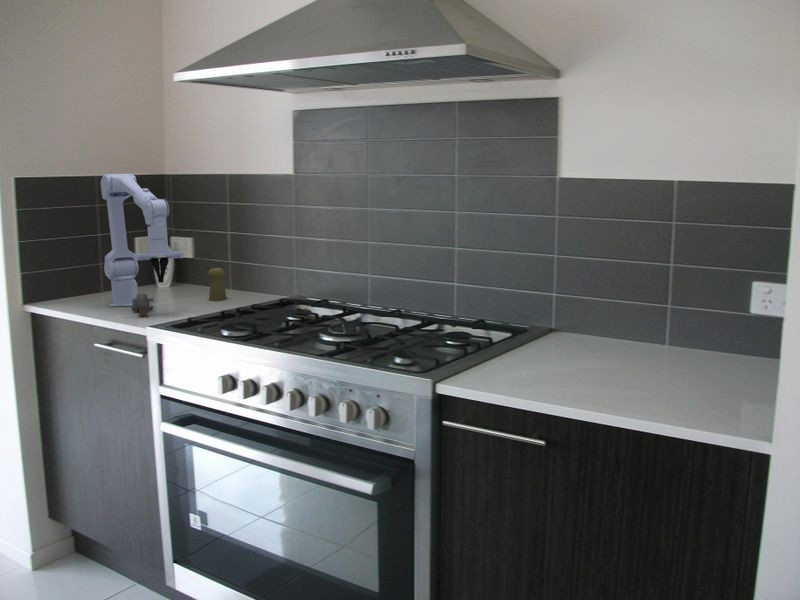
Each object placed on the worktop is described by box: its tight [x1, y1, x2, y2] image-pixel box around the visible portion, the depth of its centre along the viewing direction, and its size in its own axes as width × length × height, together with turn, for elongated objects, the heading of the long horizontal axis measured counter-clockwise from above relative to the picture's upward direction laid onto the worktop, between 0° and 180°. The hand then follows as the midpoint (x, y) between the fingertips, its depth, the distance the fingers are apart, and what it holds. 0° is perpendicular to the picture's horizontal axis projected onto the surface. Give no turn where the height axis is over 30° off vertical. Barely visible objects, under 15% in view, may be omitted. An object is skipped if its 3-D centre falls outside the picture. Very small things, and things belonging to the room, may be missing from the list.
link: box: [136, 293, 150, 316], centre depth 256 cm, size 18×4×6 cm, turn 19°
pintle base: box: [130, 304, 154, 312], centre depth 262 cm, size 7×7×4 cm
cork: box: [208, 267, 228, 302], centre depth 277 cm, size 6×6×11 cm
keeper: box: [132, 296, 155, 314], centre depth 258 cm, size 3×6×4 cm, turn 109°
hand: (160, 282), depth 250 cm, fingers closed
